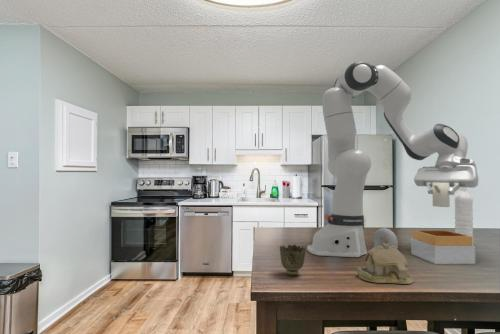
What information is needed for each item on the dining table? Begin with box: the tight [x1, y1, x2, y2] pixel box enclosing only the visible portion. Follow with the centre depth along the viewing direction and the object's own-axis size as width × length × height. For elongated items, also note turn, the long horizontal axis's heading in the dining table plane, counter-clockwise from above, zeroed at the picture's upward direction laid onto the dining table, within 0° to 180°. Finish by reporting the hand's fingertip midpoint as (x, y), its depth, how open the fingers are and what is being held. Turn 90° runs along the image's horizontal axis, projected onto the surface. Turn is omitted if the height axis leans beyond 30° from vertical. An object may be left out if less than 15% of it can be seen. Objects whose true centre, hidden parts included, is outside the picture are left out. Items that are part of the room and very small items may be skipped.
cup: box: [279, 243, 307, 277], centre depth 92 cm, size 8×7×8 cm
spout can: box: [432, 182, 451, 208], centre depth 112 cm, size 9×5×8 cm, turn 133°
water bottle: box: [454, 187, 474, 243], centre depth 138 cm, size 9×6×25 cm
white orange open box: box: [410, 229, 476, 265], centre depth 113 cm, size 17×14×9 cm
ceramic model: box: [356, 242, 415, 285], centre depth 89 cm, size 14×11×10 cm
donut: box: [372, 227, 399, 249], centre depth 117 cm, size 10×4×10 cm, turn 27°
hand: (440, 193), depth 113 cm, fingers closed on spout can, 5 cm apart
